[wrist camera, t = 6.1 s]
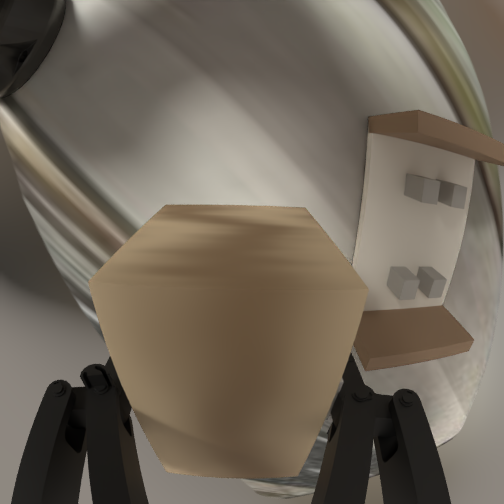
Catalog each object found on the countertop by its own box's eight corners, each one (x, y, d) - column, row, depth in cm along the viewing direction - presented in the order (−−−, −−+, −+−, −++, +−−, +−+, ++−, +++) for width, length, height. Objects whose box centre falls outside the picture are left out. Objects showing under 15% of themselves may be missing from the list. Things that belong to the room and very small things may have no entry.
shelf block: (185, 374, 18) (166, 472, 11) (165, 204, 14) (88, 281, 6) (283, 376, 18) (297, 475, 11) (305, 207, 14) (368, 289, 6)
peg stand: (340, 318, 28) (365, 371, 20) (368, 116, 20) (418, 109, 13) (434, 311, 28) (468, 351, 21) (470, 145, 21) (523, 154, 13)
